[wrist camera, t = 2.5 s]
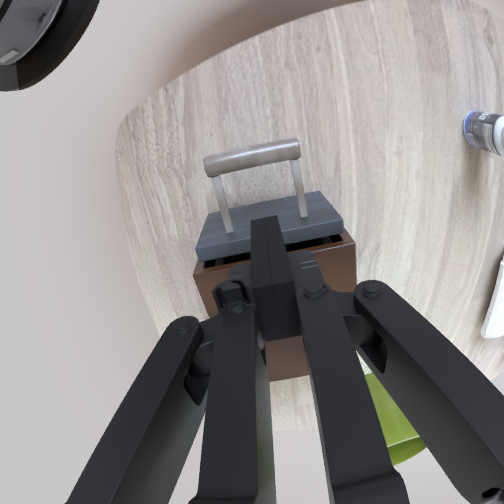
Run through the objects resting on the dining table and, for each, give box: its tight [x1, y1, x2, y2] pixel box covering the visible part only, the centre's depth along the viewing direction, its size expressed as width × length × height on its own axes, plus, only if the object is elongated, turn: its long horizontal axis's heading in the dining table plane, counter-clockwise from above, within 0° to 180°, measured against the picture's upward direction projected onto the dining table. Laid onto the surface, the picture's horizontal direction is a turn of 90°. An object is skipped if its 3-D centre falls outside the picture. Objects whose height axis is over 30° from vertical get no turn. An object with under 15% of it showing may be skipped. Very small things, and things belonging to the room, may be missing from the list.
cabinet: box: [193, 228, 357, 382], centre depth 28 cm, size 15×13×10 cm
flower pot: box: [365, 373, 427, 466], centre depth 37 cm, size 15×15×16 cm
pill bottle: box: [463, 111, 504, 157], centre depth 20 cm, size 5×5×8 cm
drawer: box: [195, 137, 344, 266], centre depth 26 cm, size 20×11×8 cm, turn 13°
